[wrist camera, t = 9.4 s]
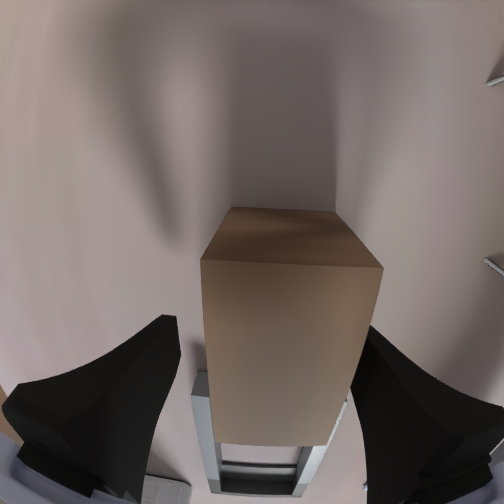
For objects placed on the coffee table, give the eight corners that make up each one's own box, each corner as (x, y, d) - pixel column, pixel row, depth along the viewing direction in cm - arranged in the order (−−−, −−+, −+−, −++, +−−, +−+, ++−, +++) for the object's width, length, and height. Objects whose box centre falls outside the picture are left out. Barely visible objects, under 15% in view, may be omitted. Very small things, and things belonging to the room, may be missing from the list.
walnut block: (335, 212, 12) (383, 268, 7) (313, 355, 15) (326, 445, 10) (231, 206, 12) (200, 259, 7) (231, 352, 15) (215, 442, 10)
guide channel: (341, 377, 15) (347, 401, 14) (300, 480, 21) (301, 497, 19) (198, 370, 16) (190, 395, 14) (213, 476, 22) (211, 492, 20)
